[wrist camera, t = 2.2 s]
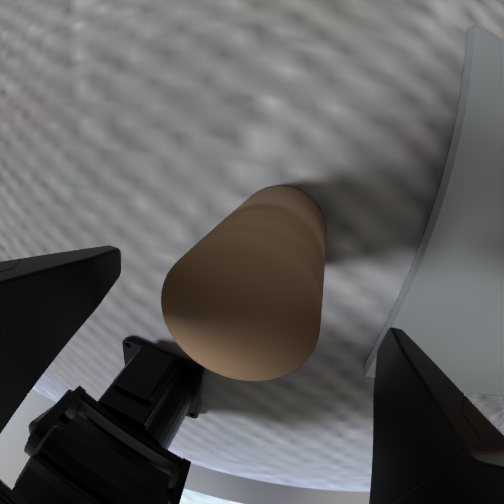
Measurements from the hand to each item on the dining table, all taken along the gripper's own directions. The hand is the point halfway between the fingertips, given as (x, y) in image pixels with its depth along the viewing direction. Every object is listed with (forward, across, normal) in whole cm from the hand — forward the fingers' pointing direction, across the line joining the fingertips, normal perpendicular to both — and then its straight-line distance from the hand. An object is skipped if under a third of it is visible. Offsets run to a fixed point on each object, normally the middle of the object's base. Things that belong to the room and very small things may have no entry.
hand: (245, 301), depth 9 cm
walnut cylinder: (+7, 0, 0) cm, 7 cm away
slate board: (+7, -15, -3) cm, 17 cm away
